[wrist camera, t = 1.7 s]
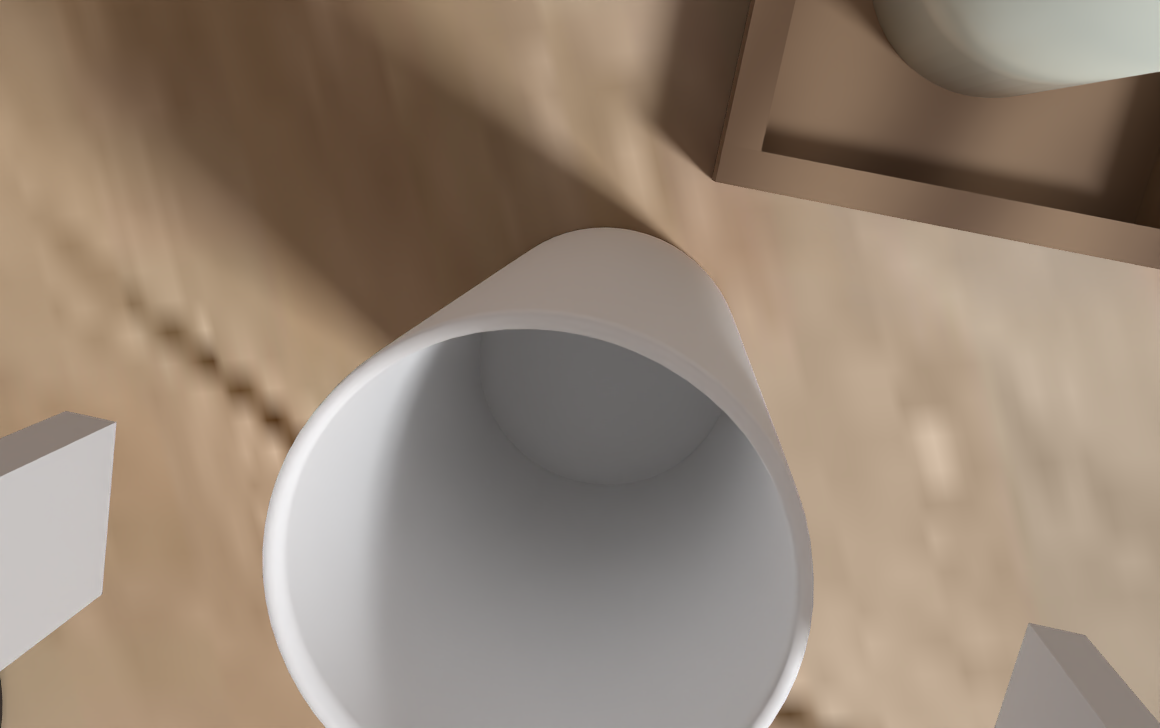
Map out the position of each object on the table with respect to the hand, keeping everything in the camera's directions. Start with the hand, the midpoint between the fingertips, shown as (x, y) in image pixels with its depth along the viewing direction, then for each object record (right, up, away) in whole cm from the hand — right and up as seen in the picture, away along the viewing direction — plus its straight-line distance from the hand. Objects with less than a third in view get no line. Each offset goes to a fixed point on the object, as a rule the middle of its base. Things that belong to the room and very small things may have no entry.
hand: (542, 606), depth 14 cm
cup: (+1, +4, +16) cm, 17 cm away
